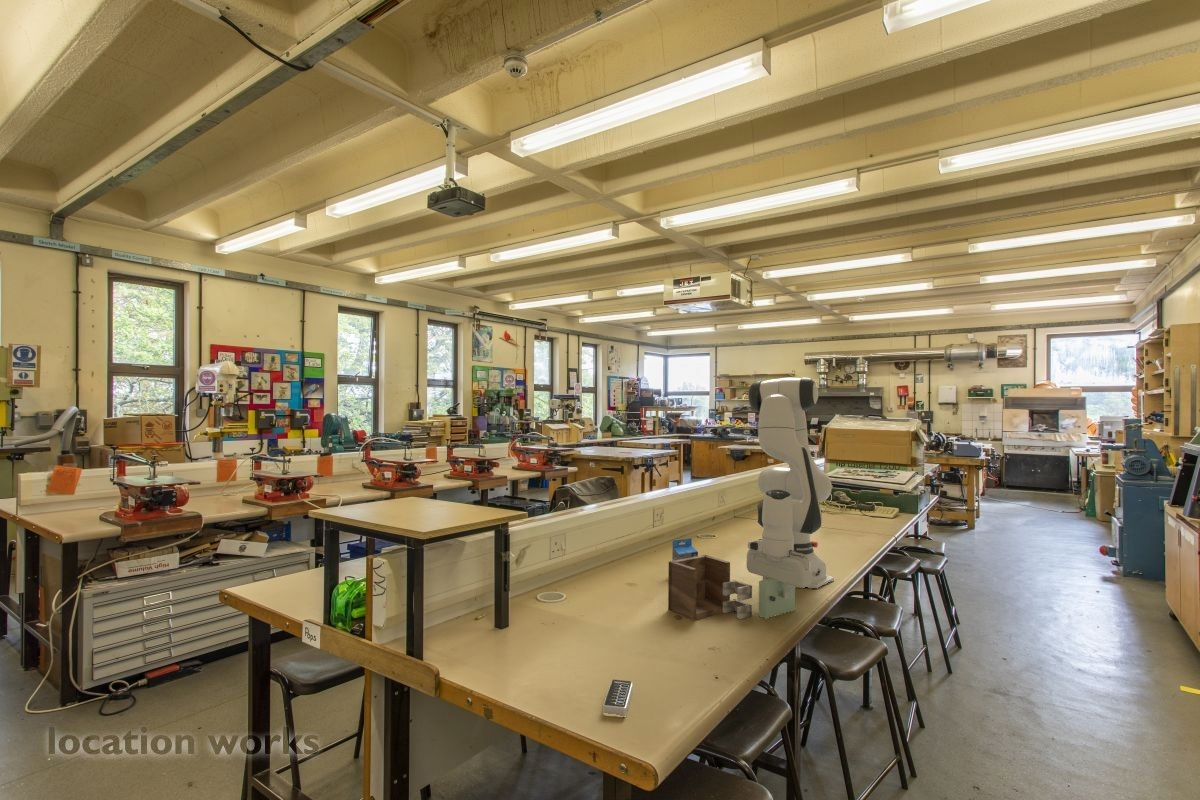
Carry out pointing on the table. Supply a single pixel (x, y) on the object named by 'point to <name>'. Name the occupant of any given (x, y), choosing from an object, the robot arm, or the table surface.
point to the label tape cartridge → (683, 549)
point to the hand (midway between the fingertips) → (777, 595)
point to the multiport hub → (618, 697)
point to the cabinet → (705, 588)
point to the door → (774, 598)
